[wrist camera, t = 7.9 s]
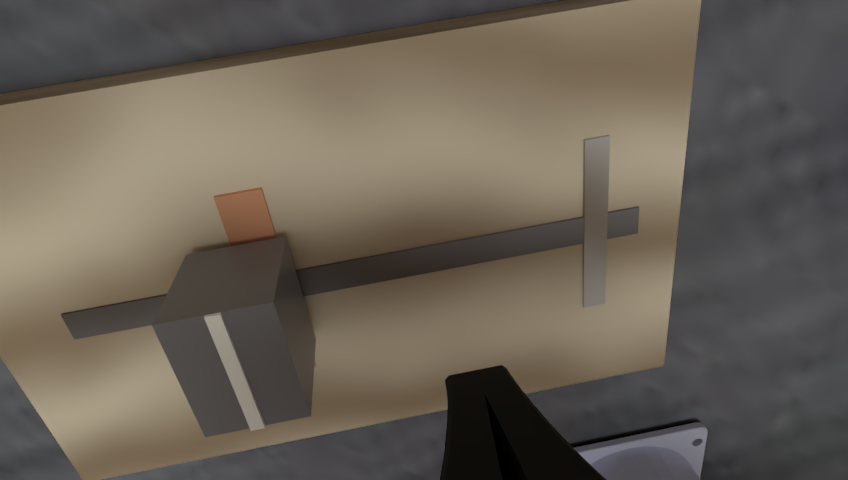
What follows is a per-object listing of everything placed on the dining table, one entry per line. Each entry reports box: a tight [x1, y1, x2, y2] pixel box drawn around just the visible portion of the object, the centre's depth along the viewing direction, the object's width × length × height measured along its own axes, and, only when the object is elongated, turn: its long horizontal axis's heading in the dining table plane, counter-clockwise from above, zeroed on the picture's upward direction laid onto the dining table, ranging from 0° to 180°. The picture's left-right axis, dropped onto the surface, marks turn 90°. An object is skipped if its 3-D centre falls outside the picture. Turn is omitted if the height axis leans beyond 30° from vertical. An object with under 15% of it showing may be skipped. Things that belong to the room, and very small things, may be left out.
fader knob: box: [152, 236, 316, 437], centre depth 16 cm, size 4×3×4 cm
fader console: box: [0, 0, 701, 480], centre depth 19 cm, size 14×23×2 cm, turn 98°
